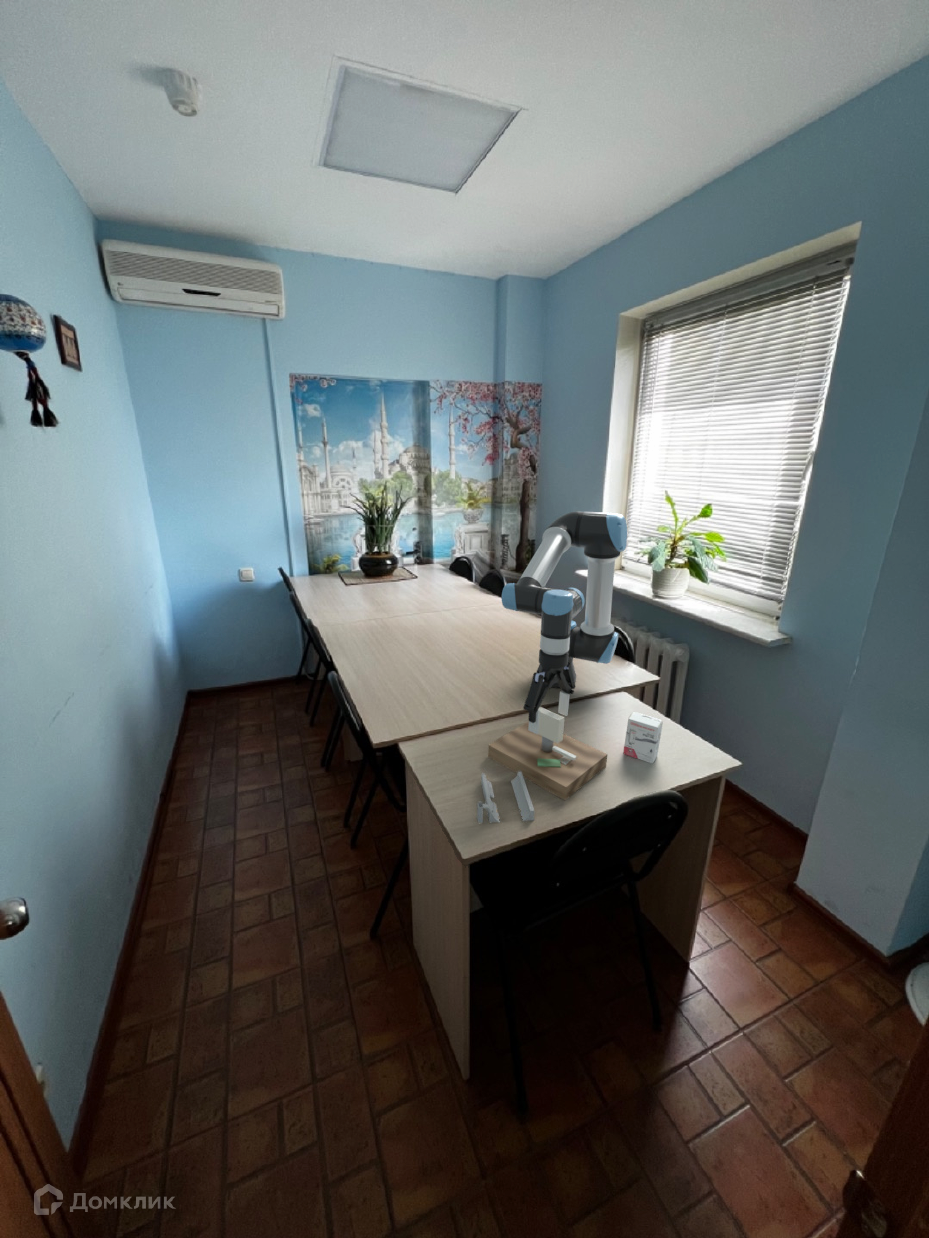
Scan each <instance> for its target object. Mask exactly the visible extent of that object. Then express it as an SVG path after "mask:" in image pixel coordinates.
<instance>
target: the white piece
mask: <svg viewBox="0 0 929 1238" xmlns="http://www.w3.org/2000/svg"><path fill="white" fill-rule="evenodd" d="M538 710H539V711H540V717H539V732H538V734H539V735H541V736H542V746H541V749H542V750H543V751H546V752H550V751H552V750H553V751H555V752H557V753H559V754H561V755H563V756H565V757H567V758H570V759H572V760H575V759H576V757H577V756H575V755H573V754H571V753H569V752H567V751H565V750H563V749H561V748H559V747H557V746H553V742H556V743H559V742H561V741H562V740H563V734H564V729H565V728H564V727H565V717H566V716H564V715H560V714H559V713H555V712H554V711H550V710H548V709H546V708H544V707H543V706H540V707H539V709H538Z"/></svg>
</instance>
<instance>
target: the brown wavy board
mask: <svg viewBox="0 0 929 1238" xmlns="http://www.w3.org/2000/svg"><path fill="white" fill-rule="evenodd" d="M541 746H542V736H541V735H539V734H535V733H533V732H531V731H529V720H528V721H526V722H525V723H523V724H521V725H520V726H518V727H516V728H514V729H513V730H511V731H509V732H508V733H506V734H504V735H503V736H501V737H499V738H497V739H496V740H494V741H493V742H491V743H489V744H488V748H487V749H488V750H487V757H488V758H489V759H491V760H493V761H494V762H497V763H498V764H499V765H501V766H504V767H505V768H507V769H508V770H510V771H512V772H514V773H515V774H517V773H518V772H522V775H523V778H524V779H527V780H528V781H530V783H531V782H532V783H533V784H535V785H537V786H539V787H540V788H542V789H544V790H546V791H547V792H549V793H551V794H552V795H554V796H556V797H557V798H559V799H561V798H562V799H561V800H563V799H564V800H563V801H566V800H568V799H569V798H570V797H572V796H573V795H574V794H575V793H577V791H578V790H580V789H581V788H582V787H584V785H586V784H587V783H589V781H591V780H592V779H593V778H594V777H595V776H596V775H598V774H599V773H600V772H602V771H603V770H604V769H605V768H606V767H607V762H608V761H607V760H608V753H607V752H604V751H601V750H600V749H597V748H595V747H594V746H591V745H589V744H586V743H585V742H582V741H580V740H578V739H576V738H573V737H571V736H570V735H567V734H564V733H563V740H562V741H561V742H559V743H556V742H553V746H557V747H559V748H561V749H563V750H565V751H567V752H569V753H571V754H573V755H575V756H577V757H576V759H575V760H572V759H570V758H567V757H565V756H563V755H561V754H559V753H557V752H555V751H553V750H552V751H550V752H546V751H543V750H542V749H541ZM573 793H574V794H573ZM568 797H569V798H568Z"/></svg>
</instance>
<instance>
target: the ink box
mask: <svg viewBox="0 0 929 1238" xmlns="http://www.w3.org/2000/svg"><path fill="white" fill-rule="evenodd" d="M663 722H664V721H663V720H662V719H660V718H657V717H653V716H650V715H647V714H644V713H641V712H637V711H633V712H631V714H630V715H629V717H628V720H627V725H626V732H625V741H624V746H623V755H626V756H629V757H632V758H635V759H638V760H641V761H643V762H647V763H649V764H654V762H655V761H656V759H657V757H658V753H659V750H660V749H659V748H660V741H661V735H662V729H663Z"/></svg>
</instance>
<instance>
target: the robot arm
mask: <svg viewBox="0 0 929 1238" xmlns="http://www.w3.org/2000/svg"><path fill="white" fill-rule="evenodd" d="M541 540H542V541H541V543H540V545H539V547H538V548H537V549H536V552H535V553H534V555H533V556H532V558H531V559H530V561H529V563H528V565H527V566H526V568H525V569H524V571H523V573H522V574H521V576H520V577H519V579H518V581H517V582H516V583H515V582H513V583H512V582H508V583H506V584H505V585H504V587H503V588H502V592H501V603H502V606H503V608H505V609H507V610H511V611H515V612H519V613H520V612H522V613H529V614H535V615H541V620H540V621H541V622H540V640H539V648H540V649H539V651H538V653H539V654H538V663H539V664H538V666H537V670H536V672H533V675H532V681H531V684H530V687H529V689H528V693H527V696H526V699H525V701H524V704H523V710H524V711H527V712H528V721H529V731H531V732H533V733H535V734H538V732H539V717H540V711H539V710H538V709H539V707H541V704H542V703H543V701H544V699H545V696H546V694H547V693H548V690H550V689H551V688H555V687H560V688H559V689H561V691H559V699H558V711H557V712H558V713H557V714H559V715H560V714H561V716H564V717H567V716H568V715H569V706H570V705H569V704H570V694H571V695H573V694H574V692H575V690H576V683H575V682H577V673H576V670H575V665H574V659H577V660H583V661H588V662H593V663H597V664H609V663H611V661H612V659H613V658H614V654H615V650H616V648H617V644H618V640H619V633H618V632H616V631H615V626H614V625H613V624H612V623H611V617H612V614H611V613H612V603H613V590H614V579H615V578H614V577H615V566H616V564H615V563H616V560H617V559H618V558H619V557H620V556H621V554H622V552H624V551H625V550H626V549H627V543H628V542H627V540H628V525H627V520H626V518H625V517H624V515H623V514H621V513H614V512H613V513H612V512H601V511H600V512H599V511H597V512H596V511H581V510H575V511H570V512H567V513H564V514H563V515H561V516H559V517H557V518H556V519H555V520H553V521H552V522H551V523H550V524H549V525H548V526H547V527H546V528H545V530H544V532H543V534H542V539H541ZM572 547H573V548H574V547H575V548H582V549H583V555H584V557H586V558H587V559H588V560H587V576H586V577H587V579H586V592H585V593H586V595H585V596H584V594H583V592H582V591H581V590H579V589H578V588H576V587H566V588H564V589H560V588H559V589H558V588H552V587H551V588H549V587H546V586H547V585H546V584H547V583H548V581H549V579H550V578H551V575H553V573H554V570H555V569H556V566H557V565H558V563H559V562H560V559H561V557H562V556H563V554H564V553H565V552H567V551H568V550H569V549H570V548H572ZM585 597H586V598H585ZM584 606H585V615H584V621H583V622H581V623H580V626H577V622H576V621H574V620H573V619H574V618H576V616H578V615H579V614H580V613H581V612H582V610H583V608H584Z"/></svg>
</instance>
